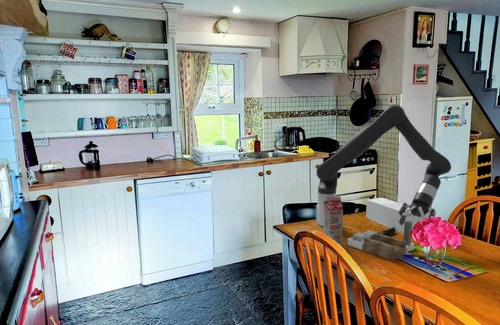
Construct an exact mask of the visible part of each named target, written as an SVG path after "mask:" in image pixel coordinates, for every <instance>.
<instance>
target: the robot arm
mask: <svg viewBox="0 0 500 325" xmlns="http://www.w3.org/2000/svg"><path fill="white" fill-rule="evenodd" d="M394 128H396V130H398V131H399V133H400V134H401V135H402V136H403V138H404V139H405V140H406V142H407V143H408V145H409V146H410V148H411V149H412V150H413V151H414V153H415V154H416V155H417V156H418V157H419V159H420V160H422V161H428V162H429V163H428V164H427V165H426V167H425V172H424V178H423V180H422V182H421V183H420V186H419V187H418V188H417V191H416V192H415V195H414V196H413V199H412V200H411V201H412V202H411V203H410V204H408V203H407V202H403V203H402V204H403V205H402V207H401V209H400V210H399V214H400V216H401V218H400V220H399V222H400V225H403V224H404V222H405V220H406V218H407V217H409V216H412V215H413V216H418V217H421V216H422V219H423V218H426V216H425V214H427V213H428V212H429V217H428V218H430V217H431V216H434V218H435V217H436V213H437V212H436V210H435V208H431V206H432V205H433V203H434V200H435V198H436V196H437V193H438V190H439V188H440V186H441V182H442V180H441V178H440V176H442V175H444V174H447V173H450V171H451V169H452V165H451V162H450V160H449V159H448V158H447V157H446V156H444V155H443V154H441V153H440V152H439V151H438V150H436V149H434V148H433V146H432V145H431V144H430V143H429V141H428V140H427V139H426V138H425V137H424V136H423V135H422V134H421V133H420V132H419V131H418V130H417V128H416V127H415V126H414V124H413V123H412V122H411V120H410V119H409V118H408V115H407V114H406V113H405V110H404V108H403V107H402V106H400V105H399V104H391V105H389V106H387V107H386V108H385V109H384V110H383V112H382V113H380V115H379V116H378V117H377V118H376V119H375V120H374V121H373V122H372V123H370V124H369V125H367V126H366V127H364V128H363V129H361V130H360V131H358V132H357V133H355V135H353V136H352V137H351V138H350V139H348V140H347V142H345V143H344V144H343V145H342V147H340V149H339V150H337V152H336V153H334V154H333V155H332V156H330V158H328V159H327V160H325V161H324V162H322V163H320V164H319V165H318V167H317V168H316V176H317V179H319V183H318V186H317V205H316V208H315V210H316V211H315V212H316V213H315V218H316V219H315V223H316V224H317V225H318V226H320V227H323V218H324V202H325V201H326V197H337V187H338V176H339V175H338V174H339V171H340V170H342V169H343V167H345V166H346V165H348V164H350V163H351V162H352V161H354V160H355V159H357V158H359V157H360V156H362V155H363V154H364V153H366V151H368V150H369V149H370V148H371V147H372V146H373V145H374V144H375V143H377V141H378V140H379V139H380V138H381V137H383V135H384V134H386V133H387V132H388V131H390V130H392V129H394ZM408 208H409V209H408ZM430 208H431V209H430ZM406 209H408V210H406ZM405 211H406V212H405ZM410 211H411V213H409V212H410Z"/></svg>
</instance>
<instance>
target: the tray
mask: <svg viewBox="0 0 500 325" xmlns="http://www.w3.org/2000/svg"><path fill="white" fill-rule="evenodd" d="M346 241H347V242H346V245H347V246H348V247H351V248H355V249H358V250H360V251H364V243H360V242H357V241H354V240H353V236H351V237H348V238H347V240H346Z"/></svg>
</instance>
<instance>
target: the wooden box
mask: <svg viewBox="0 0 500 325" xmlns="http://www.w3.org/2000/svg"><path fill="white" fill-rule="evenodd" d="M363 251H364V252H366V253H370V254H372V255H376V256H377V257H381V258H384V259H386V260H389V261H395V260H397V259H399V258H401V257H403V256H405V255H406V241H404V240H402V239H399V238H395V237H391V236H385V235H382V234H378V232H377V241H375V240H371V239H368V238H364V250H363Z"/></svg>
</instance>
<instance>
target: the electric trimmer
mask: <svg viewBox="0 0 500 325" xmlns="http://www.w3.org/2000/svg"><path fill="white" fill-rule="evenodd" d="M396 232H397V231H396V230H395V228H388V229H384V230H382V231H379V232H377V233H378V234H382V235H385V236H388V237H391V236H392V235H393V234H395V233H396Z"/></svg>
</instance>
